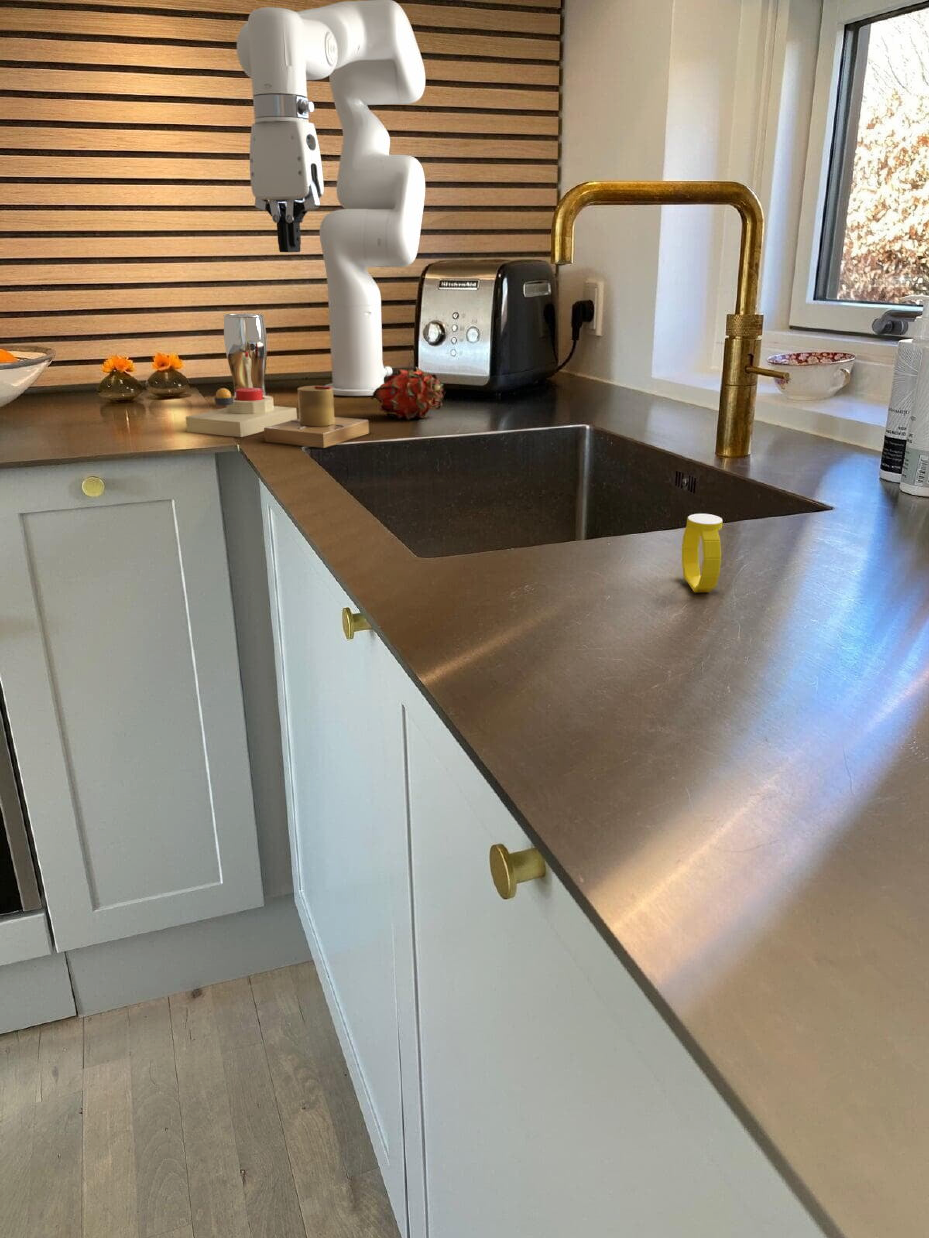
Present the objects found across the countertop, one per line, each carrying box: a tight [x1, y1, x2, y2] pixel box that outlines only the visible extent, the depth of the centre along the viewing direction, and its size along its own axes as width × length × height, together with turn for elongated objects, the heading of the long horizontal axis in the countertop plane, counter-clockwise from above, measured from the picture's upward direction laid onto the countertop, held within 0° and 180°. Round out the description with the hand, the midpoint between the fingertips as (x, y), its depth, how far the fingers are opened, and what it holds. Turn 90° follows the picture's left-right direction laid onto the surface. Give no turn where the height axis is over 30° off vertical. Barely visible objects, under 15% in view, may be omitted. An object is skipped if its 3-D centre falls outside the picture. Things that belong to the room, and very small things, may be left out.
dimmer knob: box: [297, 385, 336, 426], centre depth 135 cm, size 5×5×5 cm
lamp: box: [214, 387, 234, 406], centre depth 139 cm, size 3×3×2 cm
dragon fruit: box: [370, 366, 447, 421], centre depth 150 cm, size 8×8×12 cm
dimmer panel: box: [263, 416, 370, 449], centre depth 136 cm, size 12×10×2 cm
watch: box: [681, 513, 723, 594], centre depth 77 cm, size 6×3×6 cm, turn 4°
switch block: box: [185, 395, 298, 438], centre depth 143 cm, size 14×10×4 cm
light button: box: [236, 388, 263, 401], centre depth 144 cm, size 4×4×2 cm
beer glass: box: [223, 313, 268, 397], centre depth 159 cm, size 7×7×15 cm
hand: (290, 252), depth 139 cm, fingers closed
